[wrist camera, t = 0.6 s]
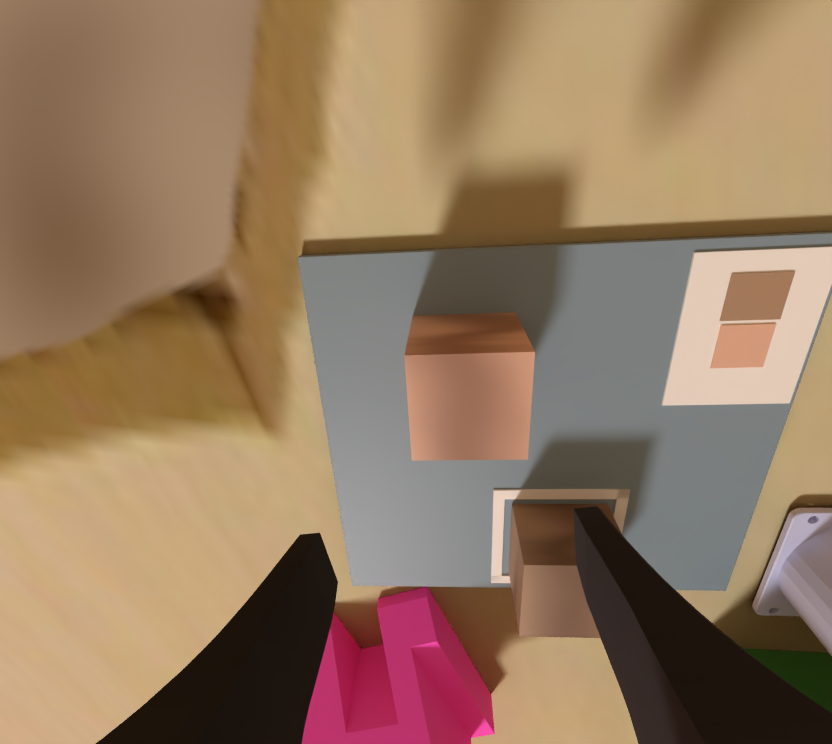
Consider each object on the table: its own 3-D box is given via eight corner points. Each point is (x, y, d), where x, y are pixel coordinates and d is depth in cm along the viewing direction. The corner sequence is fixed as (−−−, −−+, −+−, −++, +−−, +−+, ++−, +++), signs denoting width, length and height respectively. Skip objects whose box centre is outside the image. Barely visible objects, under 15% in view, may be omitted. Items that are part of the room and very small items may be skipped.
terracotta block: (515, 312, 19) (534, 351, 15) (511, 402, 21) (527, 459, 17) (412, 315, 19) (404, 355, 15) (418, 404, 21) (411, 460, 17)
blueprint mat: (842, 230, 17) (856, 232, 17) (720, 583, 26) (727, 593, 25) (301, 255, 19) (296, 257, 18) (353, 578, 27) (351, 587, 27)
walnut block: (607, 503, 23) (637, 566, 20) (595, 570, 25) (621, 638, 22) (511, 503, 23) (523, 565, 20) (508, 569, 26) (519, 636, 22)
